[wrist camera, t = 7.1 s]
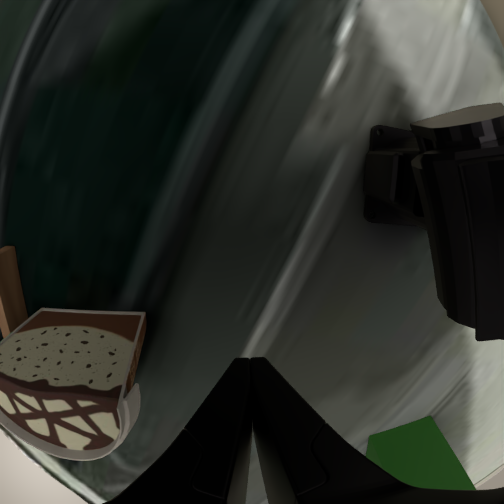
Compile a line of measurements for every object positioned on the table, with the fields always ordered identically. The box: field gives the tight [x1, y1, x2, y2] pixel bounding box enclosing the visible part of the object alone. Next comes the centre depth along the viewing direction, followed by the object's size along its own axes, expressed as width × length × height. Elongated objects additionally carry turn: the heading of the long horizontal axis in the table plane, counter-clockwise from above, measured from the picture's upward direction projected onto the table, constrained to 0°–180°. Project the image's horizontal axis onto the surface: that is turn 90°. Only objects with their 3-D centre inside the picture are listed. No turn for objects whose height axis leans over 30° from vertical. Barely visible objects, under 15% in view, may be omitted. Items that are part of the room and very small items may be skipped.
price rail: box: [0, 246, 28, 338], centre depth 21 cm, size 1×16×3 cm, turn 177°
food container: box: [0, 308, 147, 461], centre depth 18 cm, size 12×6×10 cm, turn 90°
